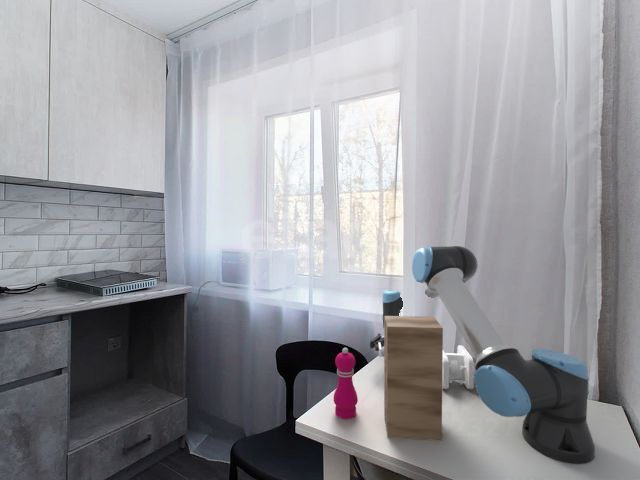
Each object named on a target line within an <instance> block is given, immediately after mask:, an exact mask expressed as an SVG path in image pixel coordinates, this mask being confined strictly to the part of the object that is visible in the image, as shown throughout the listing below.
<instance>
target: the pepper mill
mask: <svg viewBox="0 0 640 480" xmlns="http://www.w3.org/2000/svg"><path fill="white" fill-rule="evenodd" d="M341 351H342V352H339V353H338V354H337V356H336V357H335V360H334V361H335V362H334V363H335V366H336V368H337V369H336V374H337V376H338V383H337V386H336V389H335V391H334V392H333V393H334V394H333V402H334V405H335V407H334V409H335V410H334V413H335V415H336V416H337V417H338V418H340V419H342V420H349V419H353V418H354V417H355V416H356V415H357V406H356V405H358V401H359V400H358V393H357V390H356V389H355V386H354V382H353V376H354V373H355V372H354V371H355V369H354V367H355V365H356V359H355V358H356V357H355V356H354V355H353V353H350V352H349V349H348V348H347V347H344V348H342V350H341Z"/></svg>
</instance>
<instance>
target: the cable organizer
mask: <svg viewBox="0 0 640 480" xmlns="http://www.w3.org/2000/svg"><path fill="white" fill-rule="evenodd" d="M456 351H457V352H456V353H455V352H445V350H443V360H442V390H449V388H450V385H452V386H453V381H459V382H460V384H461V385H462V384H463V385H465V387H466V389H467V390H473V389H474V375H475V373H474V369H475V364H474V359H473V358H474V357H472V355H471V354H470V353H469V352H468V350H467V349H466V348H465V346H464V345H457V348H456Z"/></svg>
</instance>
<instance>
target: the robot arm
mask: <svg viewBox="0 0 640 480" xmlns="http://www.w3.org/2000/svg"><path fill="white" fill-rule="evenodd" d="M478 267H479V266H478V260H477V257H476V255H475V254H474V253H473V252H472V250H470V249H468V248H466V247H464V246H459V245H455V246H454V245H452V246H427V247H420V248H418V249H417V250H416V251H415V253H414V254H413V257H412V261H411V270H412V276H413V278H414V279H415V281H416V282H418V283H421V284H425V283H426V286H425V294H426V295H427V296H428V297H431V298H435V297H438V296H439V297H438V298H440V300H441V302H442V304H443V305H444V307H445V309H446V310H447V312H448V314H449V315H450V317H451V319H452V320H453V322H454V324H455V325H456V327H457V329H458V331H459V333H460V334H461V335H462V337H463V339H464V341H465V342H466V344H467V345H468V348H469V349H470V351H471V352H472V355H473V356H474V357H475V360H476V361H475V364H474V369H475V373H474V376H473V382H474V383H475V384H476V385H475V389H476V392H477V394H478V396H479V398H480V399H481V401H482V402H483V403H484V405H485V407H487V408H488V409H489V410H491V411H492V412H493V413H494V414H497V415H499V416H501V417H505V418H513V417H519V418H520V417H524V416H525V418H524V419H523V423H522V424H521V425H522V427H521V428H522V432H521V434H522V437H523V439H524V440H525V441H526V442H527V444H528V445H529V446H530V447H532V448H533V449H535V450H537V451H538V452H539V453H542V454H543V455H545V456H547V457H550V458H552V459H555V460H556V461H557V460H558V461H561V462H564V463H569V464H570V463H571V464H585V463H589V462H591V461H593V460H594V459H595V450H596V448H595V442H594V440H593V437H592V433H591V431H590V428H589V425H588V421H587V413H588V412H587V411H588V389H589V387H588V386H589V381H590V378H589V368H588V366H587V365H586V363H585V362H584V361H583V360H581V359H579V358H577V357H575V356H573V355H570V354H567V353H564V352H560V351H556V350H552V349H546V348H536V349H533V350H532V352H531V354H530V356H531V359H526V360H525V358H523V356H522V354H521V353H520V352H519V350H518V349H517V347H513V346H510V345H507V343H506V341H504V339H503V337H502V336H501V334H500V333H499V331H498V330H497V329H496V327H495V326H494V325H493V323H492V322H491V320H490V319H489V317H488V315H487V314H486V312H485V311H484V310H483V308H482V307H481V306H480V304H479V303H478V301H477V300H476V299H475V296H474V295H473V294H472V293H471V291H470V290H469V288H468V286H467V285H466V282H468V281H470V279H472V278H473V277H474V276H475V274H476V273H477V270H478ZM387 290H388V289H385V290H384V291H383V292H382V293H383V294H382V320H383V327H382V329H383V330H382V331H384V316H399V313H400V314H401V311H400V310H401V309H402V307H403V301H402V298H401V297H400V294H401V291H400V290H399V291H400V292H399V291H387ZM369 347H370V349H373V348H374V350H375V352H378V354H379V358H383V357H382V356H383V355H382V353H383V351H382V348H384V335H382V334H381V333H378V334H377V335H376V336H375V337H374V338H372V339H371V340H370V341H369Z"/></svg>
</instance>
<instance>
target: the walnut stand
mask: <svg viewBox="0 0 640 480" xmlns="http://www.w3.org/2000/svg"><path fill="white" fill-rule="evenodd" d="M383 333H384V334H383V336H384V346H383V348H384V349H383V351H384V354H383V355H384V357H383V359H384V360H383V362H384V364H383V367H384V368H383V371H384V372H383V375H384V376H383V377H384V378H383V379H384V380H383V382H384V385H383V386H384V387H383V393H384V395H383V397H384V400H383V401H384V402H383V403H384V404H383V407H384V409H383V413H384V414H383V416H384V423H385V430H386V436H387V438H394V439H409V440H425V441H426V440H427V441H428V440H429V441H442V440H443V437H442V434H443V431H442V430H443V389H442V360H443V351H444V349H443V347H444V346H443V341H444V337H443V336H444V327H443V326H442V325H441V324H440V323H439V321H438V320H437V319H436V317H435V316H418V315H417V316H416V315H414V316H411V315H410V316H408V315H400V316H384V330H383Z"/></svg>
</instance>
